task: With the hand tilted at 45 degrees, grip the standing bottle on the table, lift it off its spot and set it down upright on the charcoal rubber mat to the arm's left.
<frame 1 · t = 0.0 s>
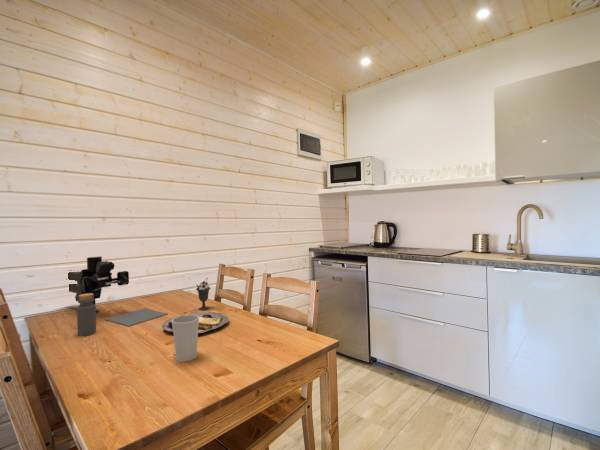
hand: (116, 282, 130), 17 cm above the table, tool horizontal, fingers open, 9 cm apart
sundae: (203, 309, 146), on the table
mat: (137, 317, 135), on the table
food plate: (196, 326, 123), on the table
cup: (186, 357, 94), on the table
bottle: (87, 333, 116), on the table
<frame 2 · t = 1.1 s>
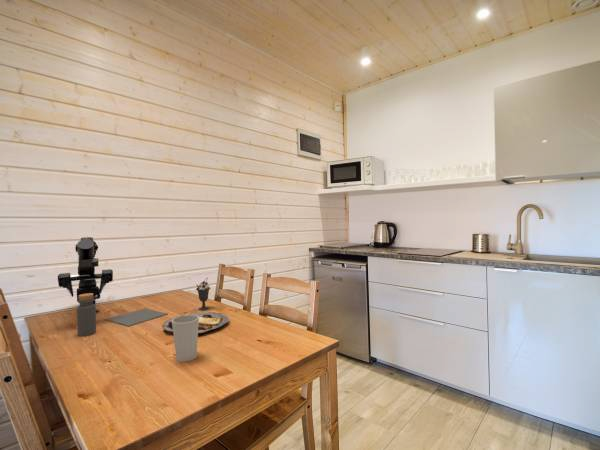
hand: (86, 294, 122), 14 cm above the table, tool tilted 45°, fingers open, 9 cm apart
nothing on the table moved.
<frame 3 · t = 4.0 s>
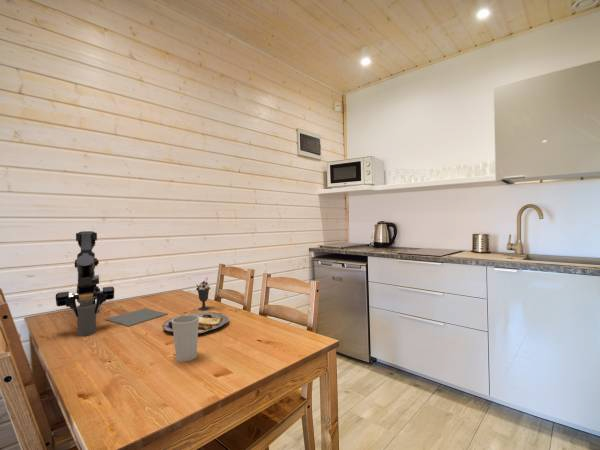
hand: (86, 314, 115), 8 cm above the table, tool tilted 45°, fingers closed on bottle, 6 cm apart
bottle: (87, 333, 116), on the table, touching gripper
everything else where it was.
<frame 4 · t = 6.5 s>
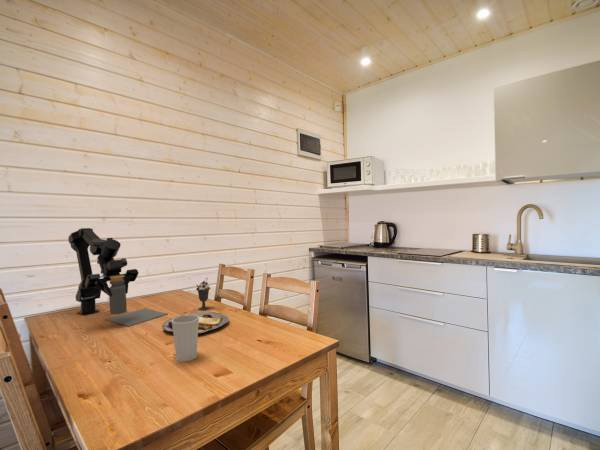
hand: (119, 294, 123), 13 cm above the table, tool tilted 45°, fingers closed on bottle, 6 cm apart
bottle: (118, 312, 124), point 5 cm above the table, touching gripper
everything else where it was.
when the fingers open (9 cm above the table, at t = 9.1 s): bottle drops 1 cm, resting on mat.
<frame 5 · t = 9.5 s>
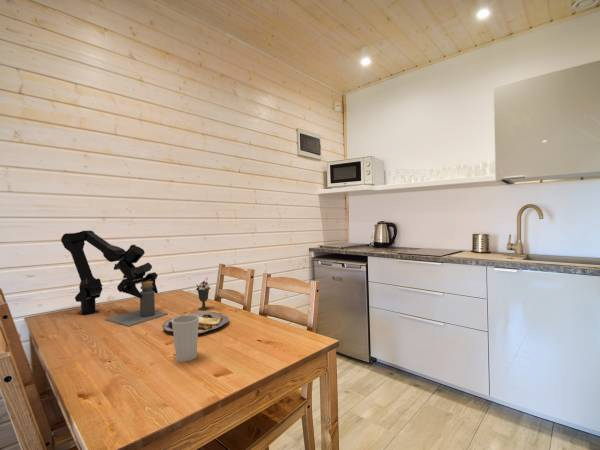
hand: (149, 295, 136), 10 cm above the table, tool tilted 45°, fingers open, 9 cm apart
bottle: (147, 315, 136), resting on mat
everything else where it was.
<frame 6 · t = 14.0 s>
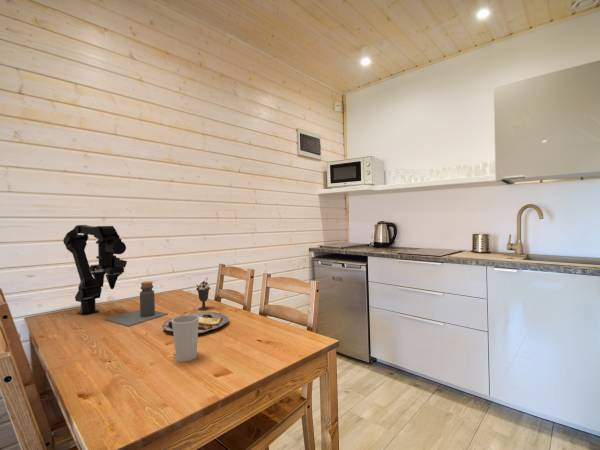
hand: (106, 288, 136), 13 cm above the table, tool pointing down, fingers open, 9 cm apart
nothing on the table moved.
at the end: bottle inside the target area (2.8 cm from its centre), resting on mat; bottle tilted 0°; the gripper is holding nothing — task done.
